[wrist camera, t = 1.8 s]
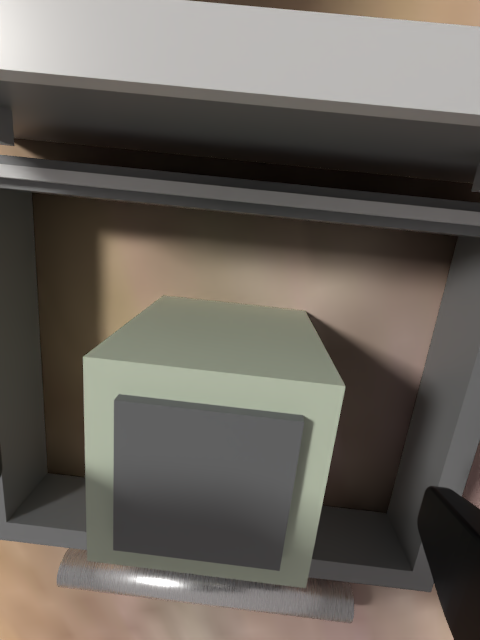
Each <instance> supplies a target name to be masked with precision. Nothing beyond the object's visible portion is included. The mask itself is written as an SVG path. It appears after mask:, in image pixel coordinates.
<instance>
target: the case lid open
mask: <svg viewBox="0 0 480 640" xmlns="http://www.w3.org/2000/svg"><path fill="white" fill-rule="evenodd" d="M14 138H18V139H28V140H38V141H48V142H58V143H68V144H78V145H88V146H99V147H109V148H119V149H129V150H139V151H149V152H159V153H169V154H179V155H189V156H199V157H209V158H220V159H230V160H240V161H250V162H260V163H270V164H280V165H290V166H300V167H310V168H320V169H331V170H341V171H351V172H361V173H371V174H381V175H391V176H401V177H411V178H421V179H431V180H442V181H452V182H462V183H472V184H473V186H472V190H471V191H472V192H480V27H477V26H466V25H454V24H443V23H432V22H421V21H410V20H399V19H388V18H377V17H366V16H355V15H344V14H333V13H322V12H310V11H299V10H288V9H277V8H266V7H255V6H244V5H233V4H222V3H211V2H200V1H189V0H0V145H10V146H14Z"/></svg>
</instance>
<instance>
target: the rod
mask: <svg viewBox="0 0 480 640" xmlns="http://www.w3.org/2000/svg"><path fill="white" fill-rule="evenodd" d="M57 586H58V587H63V588H71V589H79V590H87V591H95V592H103V593H111V594H119V595H127V596H135V597H143V598H151V599H159V600H167V601H175V602H183V603H191V604H200V605H208V606H216V607H224V608H232V609H240V610H248V611H256V612H264V613H272V614H280V615H288V616H296V617H304V618H312V619H320V620H328V621H336V622H344V623H352V621H353V617H354V599H353V592H352V588H351V585H350V583H349V582H343V581H335V580H327V579H319V578H310V577H308V580H307V585H306V588H300V587H292V586H284V585H276V584H268V583H260V582H252V581H244V580H236V579H228V578H220V577H212V576H204V575H196V574H188V573H180V572H172V571H164V570H156V569H148V568H140V567H132V566H124V565H116V564H108V563H100V562H92V561H87V550H81V549H73V548H69V549H68V550H67V552H66V553H65V555H64V557H63V559H62V561H61V564H60V567H59V571H58V575H57Z"/></svg>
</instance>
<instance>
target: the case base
mask: <svg viewBox="0 0 480 640" xmlns="http://www.w3.org/2000/svg"><path fill="white" fill-rule="evenodd" d="M32 193H41V194H51V195H60V196H70V197H80V198H90V199H99V200H109V201H119V202H129V203H139V204H148V205H158V206H168V207H178V208H188V209H197V210H207V211H217V212H227V213H237V214H246V215H256V216H266V217H276V218H285V219H295V220H305V221H315V222H325V223H334V224H344V225H354V226H364V227H374V228H383V229H393V230H403V231H413V232H423V233H432V234H442V235H452V236H458V239H457V243H456V247H455V250H454V254H453V258H452V262H451V266H450V270H449V274H448V278H447V282H446V285H445V289H444V293H443V297H442V301H441V305H440V309H439V313H438V316H437V320H436V324H435V328H434V332H433V336H432V340H431V344H430V348H429V351H428V355H427V359H426V363H425V367H424V371H423V375H422V379H421V382H420V386H419V390H418V394H417V398H416V402H415V406H414V410H413V414H412V417H411V421H410V425H409V429H408V433H407V437H406V441H405V445H404V448H403V452H402V456H401V460H400V464H399V468H398V472H397V476H396V480H395V483H394V487H393V491H392V495H391V499H390V503H389V507H388V511H387V513H381V512H373V511H364V510H356V509H347V508H339V507H331V506H322V509H321V514H320V519H319V524H318V529H317V534H316V540H315V545H314V550H313V555H312V560H311V565H310V570H309V575H308V577H310V578H319V579H327V580H335V581H343V582H351V583H359V584H368V585H376V586H384V587H392V588H400V589H408V590H417V591H425V592H431V590H432V587H433V584H434V581H433V577H432V574H431V571H430V568H429V565H428V561H427V558H426V555H425V552H424V548H423V545H422V542H421V539H420V535H419V532H418V528H417V517H418V513H419V510H420V506H421V503H422V499H423V496H424V492H425V490H426V488H427V487H429V486H437V487H446V488H449V489H451V490H453V491H454V492H456V493H457V494H459V495H460V496H462V494H463V491H464V488H465V485H466V481H467V478H468V475H469V472H470V469H471V466H472V463H473V460H474V457H475V454H476V450H477V447H478V444H479V441H480V203H476V202H466V201H456V200H446V199H436V198H426V197H416V196H406V195H396V194H386V193H376V192H366V191H356V190H346V189H336V188H326V187H316V186H306V185H296V184H286V183H276V182H267V181H257V180H247V179H237V178H227V177H217V176H207V175H197V174H187V173H177V172H167V171H157V170H147V169H137V168H127V167H117V166H107V165H97V164H87V163H77V162H67V161H57V160H47V159H37V158H27V157H17V156H7V155H0V443H1V453H2V464H3V470H2V475H1V477H0V540H8V541H16V542H24V543H32V544H41V545H49V546H57V547H65V548H73V549H81V550H87V532H86V483H85V477H77V476H68V475H60V474H51V473H48V471H47V454H46V436H45V418H44V400H43V382H42V364H41V346H40V329H39V311H38V293H37V275H36V257H35V239H34V221H33V203H32Z"/></svg>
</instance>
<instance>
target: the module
mask: <svg viewBox="0 0 480 640" xmlns="http://www.w3.org/2000/svg"><path fill="white" fill-rule="evenodd" d="M83 385H84V434H85V483H86V532H87V561H92V562H100V563H108V564H116V565H124V566H132V567H140V568H148V569H156V570H164V571H172V572H180V573H188V574H196V575H204V576H212V577H220V578H228V579H236V580H244V581H252V582H260V583H268V584H276V585H284V586H292V587H300V588H306V585H307V580H308V575H309V570H310V565H311V560H312V555H313V550H314V545H315V540H316V534H317V529H318V524H319V519H320V514H321V509H322V504H323V499H324V494H325V489H326V483H327V478H328V473H329V468H330V463H331V458H332V453H333V448H334V443H335V438H336V432H337V427H338V422H339V417H340V412H341V407H342V402H343V397H344V392H345V387H346V386H345V384H344V382H343V380H342V379H341V377H340V375H339V373H338V371H337V369H336V367H335V366H334V364H333V362H332V360H331V358H330V356H329V354H328V352H327V351H326V349H325V347H324V345H323V343H322V341H321V339H320V338H319V336H318V334H317V332H316V330H315V328H314V326H313V324H312V323H311V321H310V319H309V317H308V315H307V313H306V311H303V310H294V309H285V308H276V307H266V306H257V305H248V304H239V303H229V302H220V301H211V300H202V299H192V298H183V297H174V296H164V295H163V296H162V297H161V298H159V299H158V300H157V301H155V302H154V303H153V304H151V305H150V306H149V307H148V308H146V309H145V310H144V311H142V312H141V313H140V314H138V315H137V316H136V317H134V318H133V319H132V320H130V321H129V322H128V323H126V324H125V325H124V326H123V327H121V328H120V329H119V330H117V331H116V332H115V333H113V334H112V335H111V336H109V337H108V338H107V339H105V340H104V341H103V342H102V343H100V344H99V345H98V346H96V347H95V348H94V349H92V350H91V351H90V352H88V353H87V354H86V355H84V356H83Z"/></svg>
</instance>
